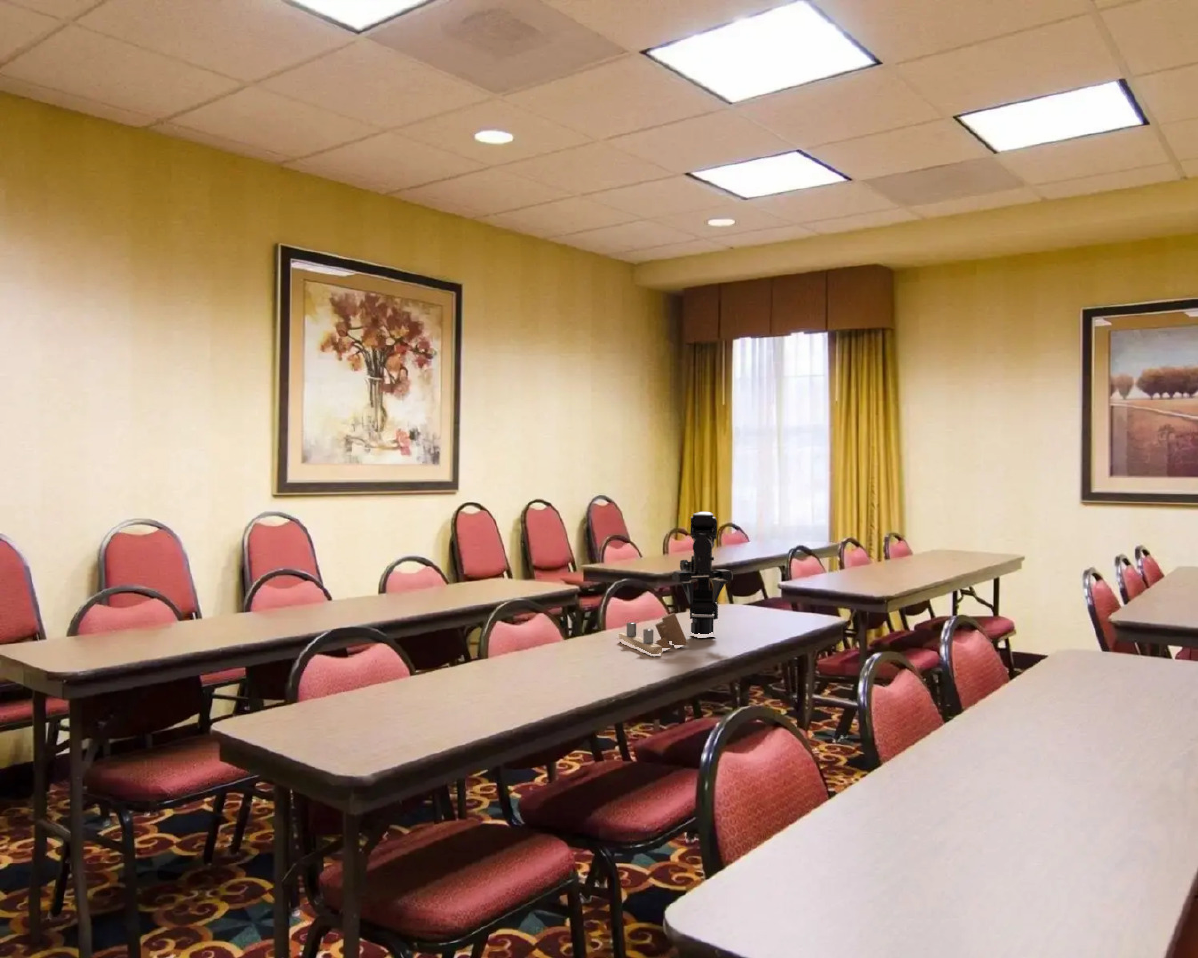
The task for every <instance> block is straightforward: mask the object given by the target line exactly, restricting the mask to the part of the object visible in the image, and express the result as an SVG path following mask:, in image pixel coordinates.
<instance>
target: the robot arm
mask: <svg viewBox="0 0 1198 958" xmlns="http://www.w3.org/2000/svg"><path fill="white" fill-rule="evenodd" d="M717 534H718V520H717V518H716V516H714V513H712V512H710V511H698V512H696V513H695V512H694V513H693V514H692V516H690V537H691V539H692V540H693V543H692V550H693V555H691V558H690V561H689V560H687V559H682V560H680V561H679V569H680V570H674V571H673V572H672V575H671V581H674V582H677V583H678V584H680V586H682V587H683V588H682V589H683V591H684V593H685V595H686V599H687V602H688V604H689V619H690V620H691V621H692V622H691V623H690V633H691V632H692V633H694V634H698V633H700V634H709V633H711V632H713V633H714V621H715V620H717V619H718V618H719V604H717V600H718V598H719V596H720V594H721V591H722V590H723V588H724V586H726V584H728V583H729V581H732V580H733V579H734V576H733V575H734V574H733V572H732V571H731V570H728V569H713V561H715V557H714V556H713V549H714V547H715V544H716V543H715V541H716V540H717V539H718V537H717V536H718V535H717ZM692 580H697V584H696V586H697V587H696V588H694V582H692ZM710 580H711V583H712V589H711V588H710Z"/></svg>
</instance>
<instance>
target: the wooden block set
mask: <svg viewBox="0 0 1198 958" xmlns="http://www.w3.org/2000/svg"><path fill="white" fill-rule="evenodd" d="M661 620H662V621H660V622H658V623H655V628H656V630H657V633H658V635H659V637H661V638H660V639H659V640H656V644H657V645H660V646H662V648H671V646H670V645H669V643H668V641H672V644H674V645H685V646H687V645H688V644H689V643H688V641H687V638H686V636H685V634H684V630H683V628H682V626H681V624H680V621H679V619H678V618H677V614H676V613H675V612H672V613H669V614H667V615H665V616H663V617H662V618H661Z"/></svg>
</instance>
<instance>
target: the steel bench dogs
mask: <svg viewBox="0 0 1198 958" xmlns="http://www.w3.org/2000/svg"><path fill="white" fill-rule="evenodd" d="M642 631H643V636H642V637H643V638H642V639H643V643H644V644H653V643H654V629H652V628H644V629H643V630H642ZM626 633H627V637H636V636H637V622H627V623H626Z"/></svg>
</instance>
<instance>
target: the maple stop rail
mask: <svg viewBox="0 0 1198 958" xmlns="http://www.w3.org/2000/svg"><path fill="white" fill-rule="evenodd" d="M618 635H619V636H618V640H619V639H623V640H624V641H626V642H628V643H630V644H632V645H634V646H635V647H639V648H641V649H643V650H645V651H647V652H649V653H651V654H659V653H662V646H660V645H658V644H657V643H654V642H653V644H644V643H643V638H642V637H640V636H637V635H636V637H627V632H619V633H618ZM662 654H663V653H662Z"/></svg>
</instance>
